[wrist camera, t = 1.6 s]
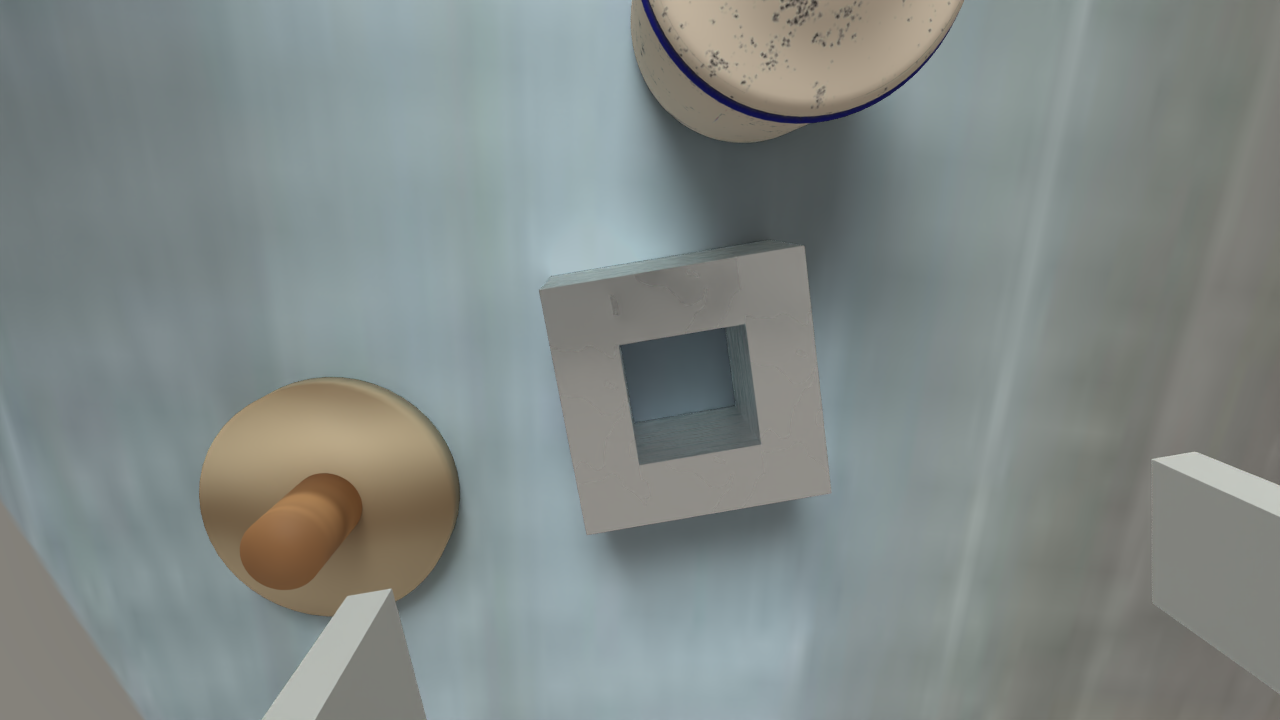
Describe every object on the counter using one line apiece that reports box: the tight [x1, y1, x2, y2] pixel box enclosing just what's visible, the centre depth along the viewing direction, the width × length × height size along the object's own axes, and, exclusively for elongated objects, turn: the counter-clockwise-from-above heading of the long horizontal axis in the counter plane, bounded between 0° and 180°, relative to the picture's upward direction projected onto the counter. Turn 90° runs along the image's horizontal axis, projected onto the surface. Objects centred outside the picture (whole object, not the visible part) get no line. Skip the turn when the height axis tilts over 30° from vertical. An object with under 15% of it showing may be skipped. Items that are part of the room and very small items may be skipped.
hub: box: [199, 377, 460, 616], centre depth 27 cm, size 10×10×6 cm
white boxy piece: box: [539, 240, 831, 535], centre depth 26 cm, size 9×9×5 cm
